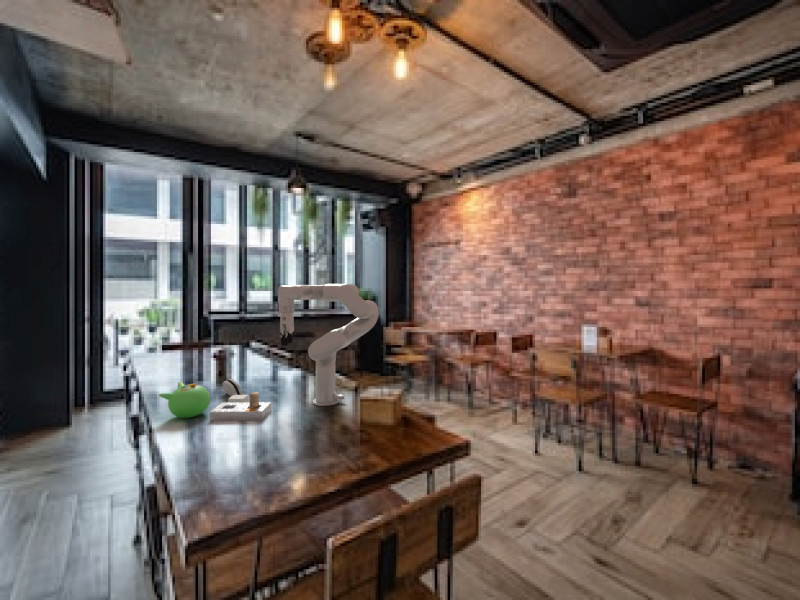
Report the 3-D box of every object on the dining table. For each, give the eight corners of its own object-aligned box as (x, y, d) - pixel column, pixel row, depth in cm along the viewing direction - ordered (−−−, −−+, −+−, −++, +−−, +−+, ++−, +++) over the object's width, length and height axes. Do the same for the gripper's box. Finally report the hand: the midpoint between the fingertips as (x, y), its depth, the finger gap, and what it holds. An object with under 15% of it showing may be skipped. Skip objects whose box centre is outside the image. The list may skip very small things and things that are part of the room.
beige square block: (248, 405, 200) (248, 394, 200) (243, 409, 194) (243, 398, 193) (233, 405, 200) (233, 394, 200) (228, 409, 193) (228, 398, 193)
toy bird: (198, 423, 174) (197, 388, 174) (157, 423, 174) (157, 388, 174) (216, 410, 192) (216, 378, 192) (180, 410, 192) (179, 378, 192)
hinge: (247, 398, 213) (240, 380, 211) (238, 402, 210) (231, 385, 208) (235, 391, 226) (228, 375, 223) (227, 396, 223) (220, 379, 220)
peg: (260, 414, 186) (260, 392, 186) (257, 417, 182) (257, 394, 182) (251, 414, 186) (251, 392, 186) (248, 417, 182) (248, 394, 182)
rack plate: (271, 410, 191) (271, 401, 191) (262, 420, 177) (262, 411, 177) (222, 411, 191) (222, 402, 191) (209, 421, 177) (209, 411, 177)
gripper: (290, 311, 200) (290, 346, 200) (297, 309, 217) (297, 341, 217) (274, 311, 199) (274, 346, 200) (283, 309, 217) (283, 341, 217)
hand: (286, 344), depth 209 cm, fingers open, 9 cm apart
